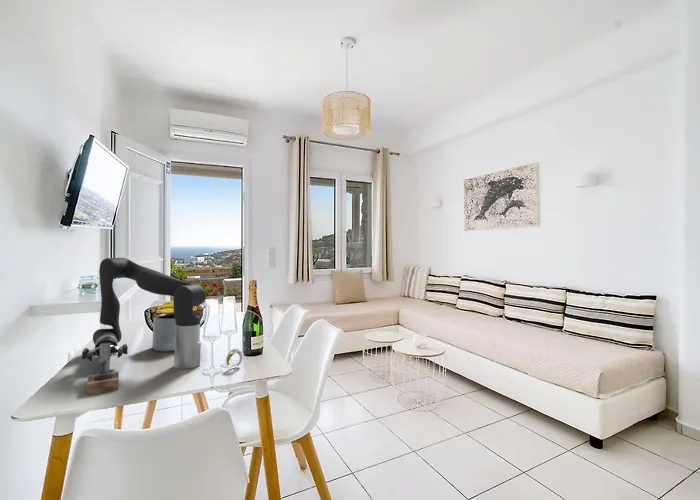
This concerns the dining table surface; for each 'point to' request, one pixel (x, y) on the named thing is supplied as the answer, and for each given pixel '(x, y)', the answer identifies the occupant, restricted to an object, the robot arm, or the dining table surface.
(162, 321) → the planter
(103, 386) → the wooden square socket block
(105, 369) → the rod
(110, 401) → the dining table surface
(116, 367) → the dining table surface
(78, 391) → the dining table surface
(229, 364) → the ring
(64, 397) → the dining table surface
